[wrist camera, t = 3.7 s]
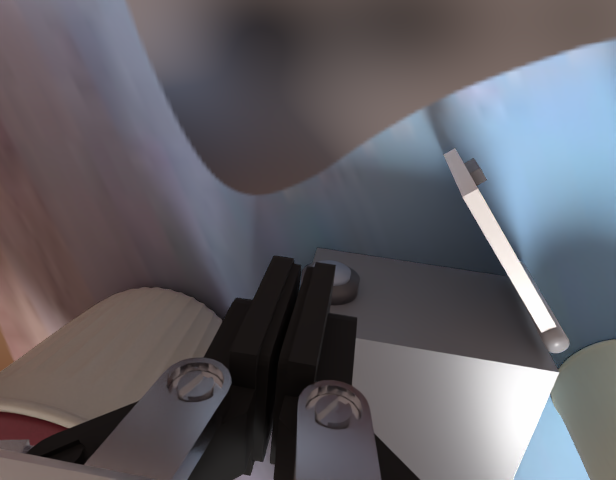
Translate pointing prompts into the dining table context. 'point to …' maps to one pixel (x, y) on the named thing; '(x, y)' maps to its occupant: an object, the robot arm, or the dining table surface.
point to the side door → (506, 253)
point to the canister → (101, 361)
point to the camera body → (443, 363)
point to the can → (590, 406)
